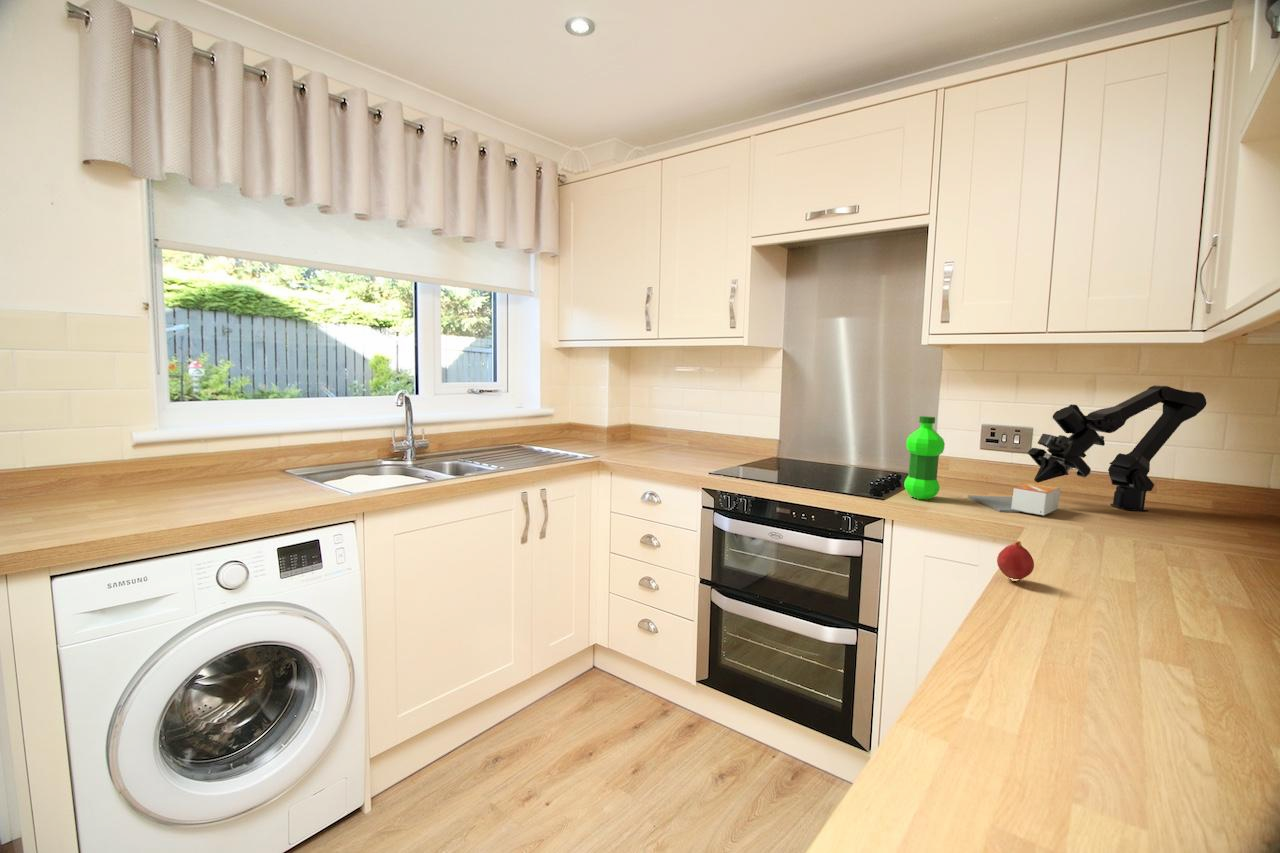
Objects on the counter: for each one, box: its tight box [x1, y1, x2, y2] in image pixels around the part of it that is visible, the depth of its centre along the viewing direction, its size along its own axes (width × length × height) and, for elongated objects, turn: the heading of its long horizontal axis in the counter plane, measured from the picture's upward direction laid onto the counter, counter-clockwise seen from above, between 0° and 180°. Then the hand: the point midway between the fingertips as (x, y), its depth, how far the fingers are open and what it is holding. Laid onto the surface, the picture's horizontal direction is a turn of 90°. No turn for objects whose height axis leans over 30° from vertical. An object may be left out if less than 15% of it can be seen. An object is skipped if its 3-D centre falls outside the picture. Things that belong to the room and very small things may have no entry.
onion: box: [996, 540, 1035, 580], centre depth 110 cm, size 6×6×8 cm
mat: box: [967, 494, 1052, 515], centre depth 173 cm, size 14×18×1 cm
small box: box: [1011, 482, 1061, 516], centre depth 166 cm, size 8×6×13 cm
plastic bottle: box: [903, 415, 945, 500], centre depth 178 cm, size 10×10×25 cm
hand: (1035, 481), depth 171 cm, fingers closed
